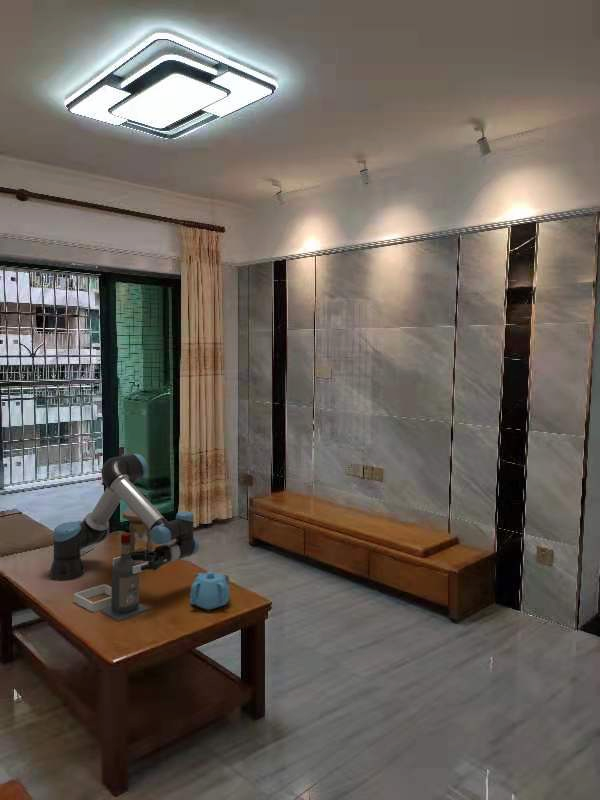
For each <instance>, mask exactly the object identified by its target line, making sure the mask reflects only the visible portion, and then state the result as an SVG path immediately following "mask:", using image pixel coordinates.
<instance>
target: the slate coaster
mask: <svg viewBox="0 0 600 800" xmlns="http://www.w3.org/2000/svg"><path fill="white" fill-rule="evenodd" d="M150 610H151V607H150V606H147V605H145V604H142V603H140V602H139V606H138V608H137V610H134V611H131V612H129V613H122V614H120V613H118V612H116V611H114V610H112V608H111V606H109V607H106V608H103V609H100V610H99V611H100V613H102V614H104V615H106V616H108V617H109V618H112V619H114V620H115V621H117V622H119V623H120V622H122V621H124V620H128V619H130V618H133V617H136V616H138V615H141V614H143V613H146V612H148V611H150Z"/></svg>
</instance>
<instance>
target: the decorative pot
mask: <svg viewBox="0 0 600 800" xmlns="http://www.w3.org/2000/svg"><path fill="white" fill-rule="evenodd" d="M229 581H230V577H229V575H228V574H227V573H221V574H220V573H217V572H214V571H207V572H206V573H202V572H199V573H196V575H195V577H194V581H193V583H192V584H191V586H190V594H189V597H190V599H189V603H190V604H191V605H195V606H196V607H198V608H201V609H204V610H205V609H211V610H212V609H217V608H219V607H220V608H221V607H223V606H225V605H226V604H228V602H229V600H230V598H231V594H230V593H231V592H230V587H229Z"/></svg>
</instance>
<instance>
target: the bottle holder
mask: <svg viewBox="0 0 600 800" xmlns="http://www.w3.org/2000/svg"><path fill="white" fill-rule="evenodd" d="M102 594H106V595H107V596H109V597H105V598H102V599H101V600H96V601H94V602H93V601H91V600H90V598H92V597H96V596H99V595H102ZM73 601H74V602H73V603H74V604H76V603H77V604H76V605H78V606H80V607H81V606H82V608H83V607H84V608H83V609H85V608H86V610H87V609H88V610H87V611H89V612H91V613H96V612H99V611H100V609H103V608H106V607H109V606H111V601H112V586H110V585H108V584H104V583H103V584H100V585H98V586H97V585H96V586H93V587H91V588H87V589H84V590H82V591H78V592H75V593H73ZM92 611H93V612H92Z"/></svg>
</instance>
